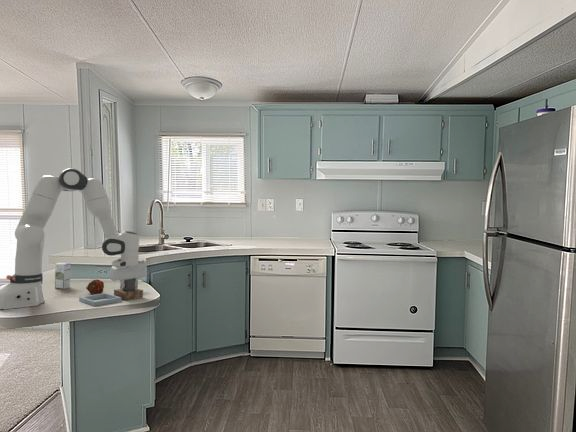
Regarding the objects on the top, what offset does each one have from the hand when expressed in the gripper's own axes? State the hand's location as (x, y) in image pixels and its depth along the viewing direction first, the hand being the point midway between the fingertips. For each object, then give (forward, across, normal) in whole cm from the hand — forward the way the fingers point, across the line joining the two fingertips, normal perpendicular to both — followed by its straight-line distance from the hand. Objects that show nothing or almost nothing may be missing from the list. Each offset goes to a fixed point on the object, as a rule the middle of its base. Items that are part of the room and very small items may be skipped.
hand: (128, 287), depth 218 cm
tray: (+6, +15, -2) cm, 16 cm away
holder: (+6, 0, 0) cm, 6 cm away
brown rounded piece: (+6, +8, -20) cm, 22 cm away
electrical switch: (+6, -8, -13) cm, 16 cm away
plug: (+4, 0, 0) cm, 4 cm away
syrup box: (+6, +14, -45) cm, 47 cm away
